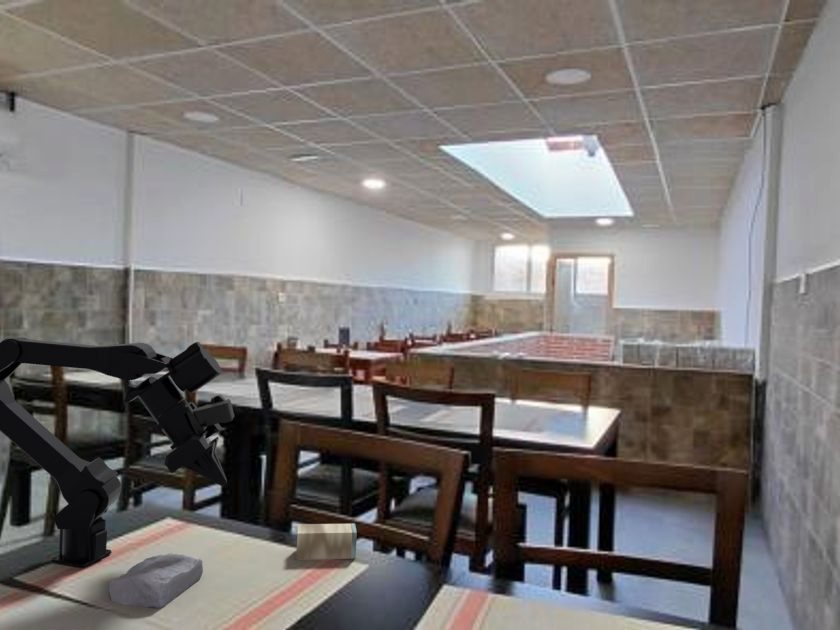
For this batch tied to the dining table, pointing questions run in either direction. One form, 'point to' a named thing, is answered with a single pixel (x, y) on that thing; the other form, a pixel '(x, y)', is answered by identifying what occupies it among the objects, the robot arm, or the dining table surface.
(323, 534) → the beech block
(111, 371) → the robot arm
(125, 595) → the stone block
